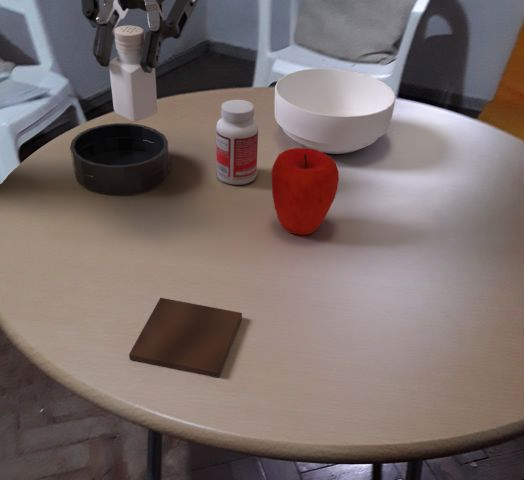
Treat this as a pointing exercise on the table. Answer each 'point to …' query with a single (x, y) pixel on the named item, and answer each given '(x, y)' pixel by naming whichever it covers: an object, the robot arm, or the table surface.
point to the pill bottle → (237, 143)
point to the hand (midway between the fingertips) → (123, 65)
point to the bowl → (333, 109)
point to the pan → (120, 158)
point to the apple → (303, 188)
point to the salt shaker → (131, 76)
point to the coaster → (187, 337)
